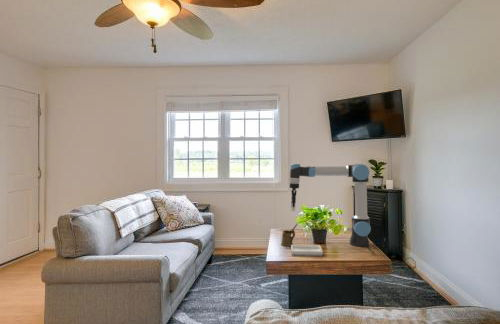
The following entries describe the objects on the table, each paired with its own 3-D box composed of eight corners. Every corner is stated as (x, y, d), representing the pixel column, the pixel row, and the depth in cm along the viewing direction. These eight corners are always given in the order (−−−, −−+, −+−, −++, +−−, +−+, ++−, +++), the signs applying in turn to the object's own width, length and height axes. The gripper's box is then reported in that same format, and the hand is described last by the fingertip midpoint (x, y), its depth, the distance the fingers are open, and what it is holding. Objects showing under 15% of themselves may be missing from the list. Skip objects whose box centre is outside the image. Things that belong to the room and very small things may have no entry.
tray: (320, 249, 237) (320, 245, 237) (322, 255, 221) (322, 251, 221) (291, 248, 240) (291, 244, 240) (291, 255, 224) (291, 251, 224)
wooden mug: (296, 247, 243) (296, 224, 243) (280, 246, 248) (279, 223, 248) (298, 244, 252) (298, 222, 252) (282, 243, 256) (282, 221, 256)
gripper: (289, 181, 261) (287, 206, 261) (290, 184, 236) (288, 212, 236) (298, 182, 260) (297, 207, 260) (300, 184, 235) (298, 212, 235)
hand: (292, 209), depth 248 cm, fingers open, 13 cm apart
